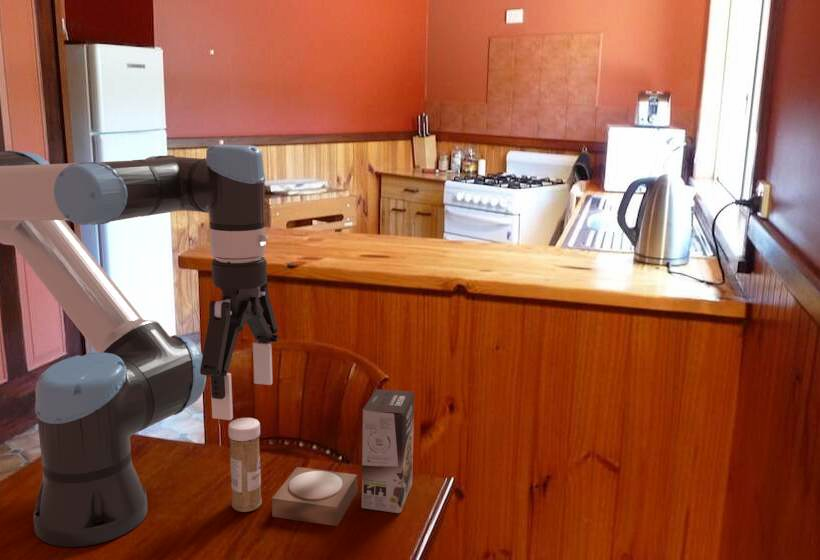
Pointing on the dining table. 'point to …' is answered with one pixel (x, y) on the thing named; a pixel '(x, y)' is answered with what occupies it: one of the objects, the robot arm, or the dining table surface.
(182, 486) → the dining table surface
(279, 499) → the base
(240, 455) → the sprinkles bottle
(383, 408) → the coffee box
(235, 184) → the robot arm
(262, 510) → the dining table surface
